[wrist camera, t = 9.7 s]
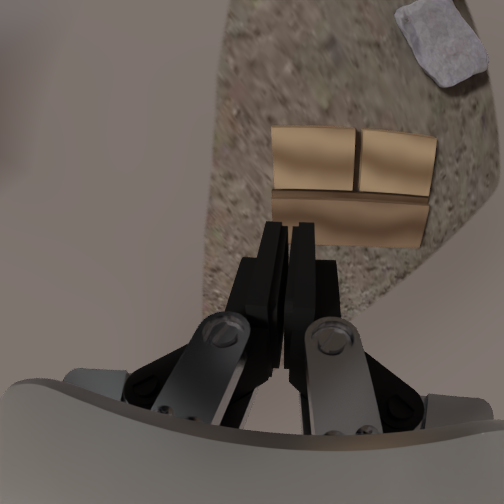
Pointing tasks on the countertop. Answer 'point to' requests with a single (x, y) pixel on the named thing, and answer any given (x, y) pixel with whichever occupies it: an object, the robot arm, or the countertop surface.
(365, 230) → the wooden board
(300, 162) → the plank
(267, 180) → the countertop surface
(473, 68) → the stone block
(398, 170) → the plank
